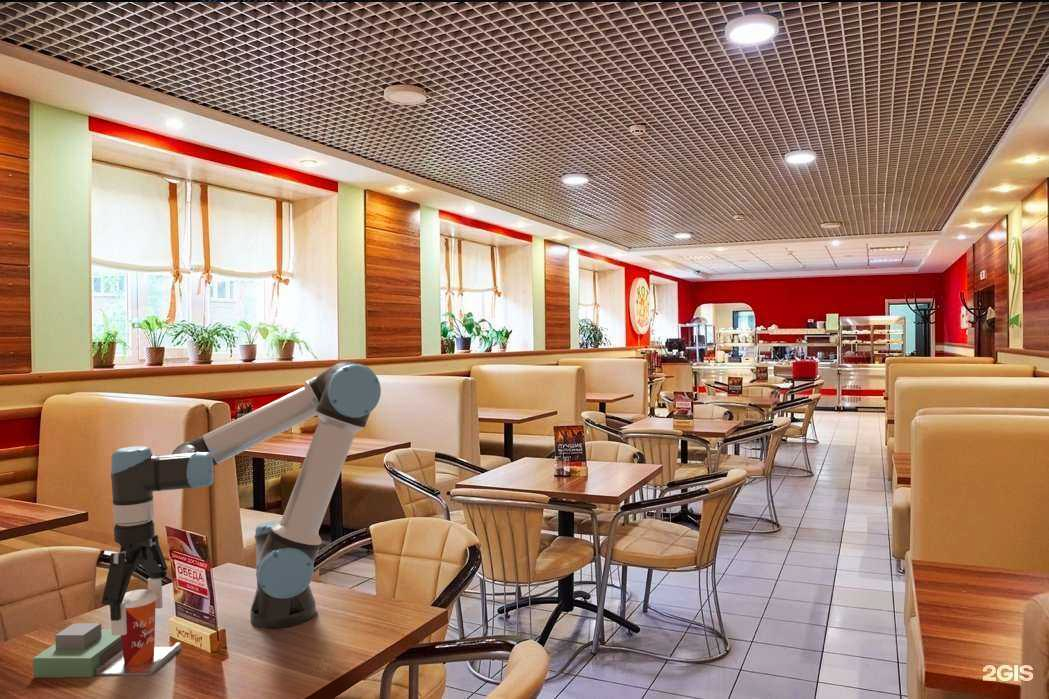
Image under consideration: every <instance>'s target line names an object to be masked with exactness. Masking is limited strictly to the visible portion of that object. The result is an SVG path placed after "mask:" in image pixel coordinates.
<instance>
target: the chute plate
mask: <svg viewBox="0 0 1049 699" xmlns="http://www.w3.org/2000/svg"><path fill="white" fill-rule="evenodd" d="M181 649H182V643H181V642H175V644H174V645H172V646H154V658H153V659H152V660H151V661H149V662H147V663H145V664H142V665H137V666H128V665H126V664H125V663H124V656H123V648H122V649H120V650H119V651H118V652H116V653H115V654H114V655H112V656H111V657H110V658H108V659H107V660H106V661H104V662H103V663H102V664H100V665H99V666H98V667H96V668H95V675H94V676H152V675H153V674H154V673H156V672H157V671H158V670H159V669H160V668H161V667H162V666H164V664H165V663H167V662H168V661H169V660H170V659H171V658H172V657H174V656H175V654H177V653H178V652H179V651H180V650H181Z"/></svg>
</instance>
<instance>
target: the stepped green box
mask: <svg viewBox="0 0 1049 699" xmlns="http://www.w3.org/2000/svg"><path fill="white" fill-rule="evenodd" d="M54 637H55V638H54V639H55V643H54V644H53V645H51V646H49V647H48V648H46V649H45V650H43V651H42V652H40V653H39V654H37V655H35V656H34V657H33V658H32V660H33V661H32V664H33V678H59V679H61V678H60V677H91V678H93V677H94V676H96V675H95V668H96V667H98V666H99V665H100V664H102V663H103V662H104V661H106V660H107V659H108V658H110V657H111V656H112V655H114V654H115V653H116V652H118V651H119V650H120V649H122V639H121V635H112V631H111V628H102V623H100V622H97V623H96V622H94V623H93V622H92V623H90V622H88V623H87V622H86V623H85V622H84V623H83V622H75V623H72V624H71V625H69V626H67V627H65V628H64V629H62V630H61V631H60V632H58V633H57V634H55V635H54ZM93 675H94V676H93ZM92 676H93V677H92Z"/></svg>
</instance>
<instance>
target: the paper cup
mask: <svg viewBox="0 0 1049 699" xmlns="http://www.w3.org/2000/svg"><path fill="white" fill-rule="evenodd" d="M156 599H157V596H156V595H155V592H154V591H153V590H150V589H148V588H142V589H134V590H130V591H126V593H125V596H124V599H123V601H122V602H126V625H127V634H125V635H121V639H122V648H123V656H124V663H125V664H126V665H128V666H137V665H142V664H145V663H147V662H149V661H151V660H152V659H153V658H154V647H155V642H156V639H155V638H156V634H155V633H156V608H155V602H156Z"/></svg>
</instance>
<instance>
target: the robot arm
mask: <svg viewBox="0 0 1049 699" xmlns="http://www.w3.org/2000/svg"><path fill="white" fill-rule="evenodd" d="M381 391H382V388H381V384H380V381H379V378H378V376H377V374H376V373H375V372H374V371H373V370H372V369H371V368H370V367H368V366H367V365H364V364H363V363H362V364H361V363H358V362H355V361H346V360H345V361H341V362H338V363H335V364H334V365H332V366H330V367H328V368H327V369H326V370H324V371H322V372H321V373H319V374H317V375H316V376H313V377H311V378H309V379H308V380H306V381H305V383H304V385H303V387H300V388H298V389H297V390H295V391H293V392H290V393H288V394H286V395H284V396H282V397H280V398H278V399H275V400H273V401H272V402H269V403H268V404H266V405H264V406H261V407H260V408H257V409H255V410H253V411H251V412H248V413H247V414H245V415H243V416H241V417H238V418H237V419H234V420H233V421H230V422H228V423H226V424H224V425H222V426H220V427H218V428H216V429H214V430H211V431H210V432H207V433H205V434H203V435H202V436H200V437H197V438H196V439H193V440H191V441H186V442H185V441H184V442H183V443H181V444H180V445H178V446H177V447H176V448H175V449H173V450H172V453H171V454H163V455H154V454H153V453H152V449H151V447H149V446H138V445H137V446H127V447H126V446H125V447H121V448H118V449H115V450H114V451H113V452H112V453H111V460H110V461H111V464H110V465H111V468H110V469H111V471H110V476H111V493H112V511H113V512H112V513H113V522H114V523H115V524H114V526H113V539H114V542H115V543H116V544H119V545H120V549H119V552H111V553H110V556H109V557H110V558H109V568H108V571H107V577H106V581H105V584H104V590H103V594H102V600H101V605H103V606H104V605H105V606H107V605H109V610H110V611H109V614H110V625H111V626H110V627H111V628H110V629H111V631H112V635H125V634H127V625H126V602H122V601H123V599H124V596H125V593H126V592H127V589H128V587H129V584H130V581H131V578H132V575H133V573H134V572H135V571H137V567H139V566H140V565H141V566H142V568H143V569H144V570H145V572H146V573H147V574H148V576H149V578H147V589H150V590H153V591H154V592H155V595H156V596H157V599H156V602H155V609H162V608H163V607H164V606H163V587H162V585H163V584H162V578H166V576H167V573H168V572H167V571H168V564H167V563H166V562H167V561H166V559H165V556H164V555H163V552H162V549H161V546H160V543H159V542H160V541H159V535H158V534H155V521H154V519H153V518H154V517H155V513H154V512H155V511H154V510H155V509H154V508H155V507H154V495H153V493H154V492H161V491H172V490H185V489H186V490H187V489H195V490H196V489H198V488H204V487H205V488H206V487H209V486H211V485H212V484H213V483H214V467H215V466H217V465H218V464H221V463H222V462H224V461H226V460H228V459H230V458H233V457H235V456H237V455H239V454H240V453H243V452H245V451H247V450H249V449H251V448H254V447H255V446H257V445H259V444H261V443H263V442H265V441H267V440H269V439H271V438H273V437H275V436H277V435H279V434H281V433H283V432H285V431H287V430H289V429H291V428H293V427H295V426H297V425H299V424H301V423H303V422H306V421H308V420H309V419H312V418H314V417H315V416H317V418H318V424H317V427H316V428H315V430H314V431H315V432H314V434H313V437H312V439H311V442H310V445H309V447H308V450H307V452H306V455H305V457H304V460H303V463H302V466H301V468H300V471H299V473H298V476H297V478H296V481H295V484H294V486H293V489H292V491H291V494H290V497H289V499H288V502H287V505H286V508H285V510H284V512H283V514H282V518H281V520H274V521H268V522H264V523H263V522H262V523H261V524H258V525H257V526H256V528H255V535H254V540H255V560H256V561H255V562H256V564H255V566H256V570H255V572H256V573H255V575H256V590H255V593H254V598H253V600H252V603H251V608H250V611H249V612H250V613H249V614H250V616H249V617H250V622H251V623H252V625H253V626H256V627H259V628H265V629H273V628H274V629H277V628H280V629H281V628H286V627H287V628H288V627H291V626H295V625H298V624H301V623H304V622H306V621H308V620H310V619H311V618H312V617H314V616H315V615H316V613H317V608H316V605H317V603H316V600H315V597H314V594H313V592H312V589H311V587H310V584H311V582H312V580H313V576H314V571H315V567H314V563H315V560H316V558H317V556H318V552H319V549H320V547H321V545H322V542H323V540H322V538H321V536H320V534H319V530H320V528H321V525H322V523H323V520H324V518H325V515H326V513H327V509H328V506H329V505H330V502H331V499H332V496H333V493H334V491H335V488H336V486H337V483H338V481H339V478H340V475H341V472H342V470H343V467H344V465H345V462H346V459H347V457H348V455H349V452H350V449H351V446H352V444H353V440H354V437H355V435H356V434H357V433H358V432H360V431H362V430H364V429H365V428H366V425H367V422H368V420H369V418H370V414H371V413H372V412H373V410H374V409H375V408H376V407H377V405H378V403H379V402H380V398H381V396H382V395H381V394H382V392H381Z"/></svg>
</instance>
